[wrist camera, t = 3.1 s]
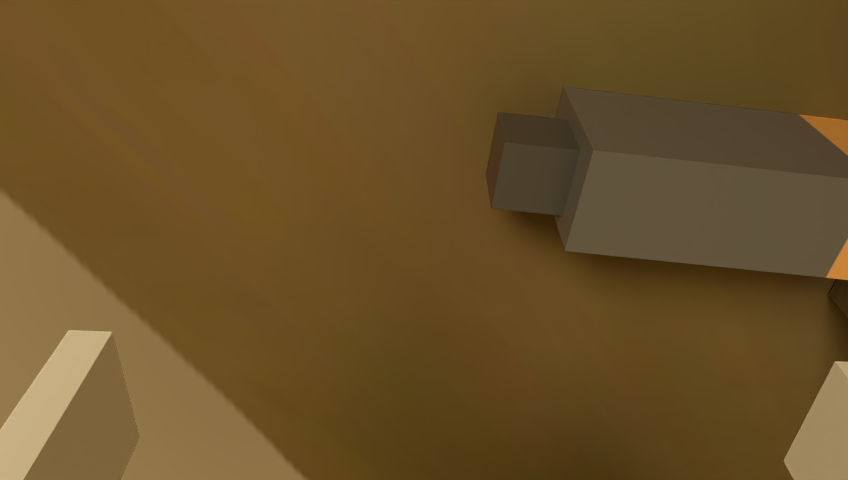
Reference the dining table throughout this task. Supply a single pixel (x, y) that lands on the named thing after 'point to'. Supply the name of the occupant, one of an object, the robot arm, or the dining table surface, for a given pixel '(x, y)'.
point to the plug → (680, 181)
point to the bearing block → (840, 295)
